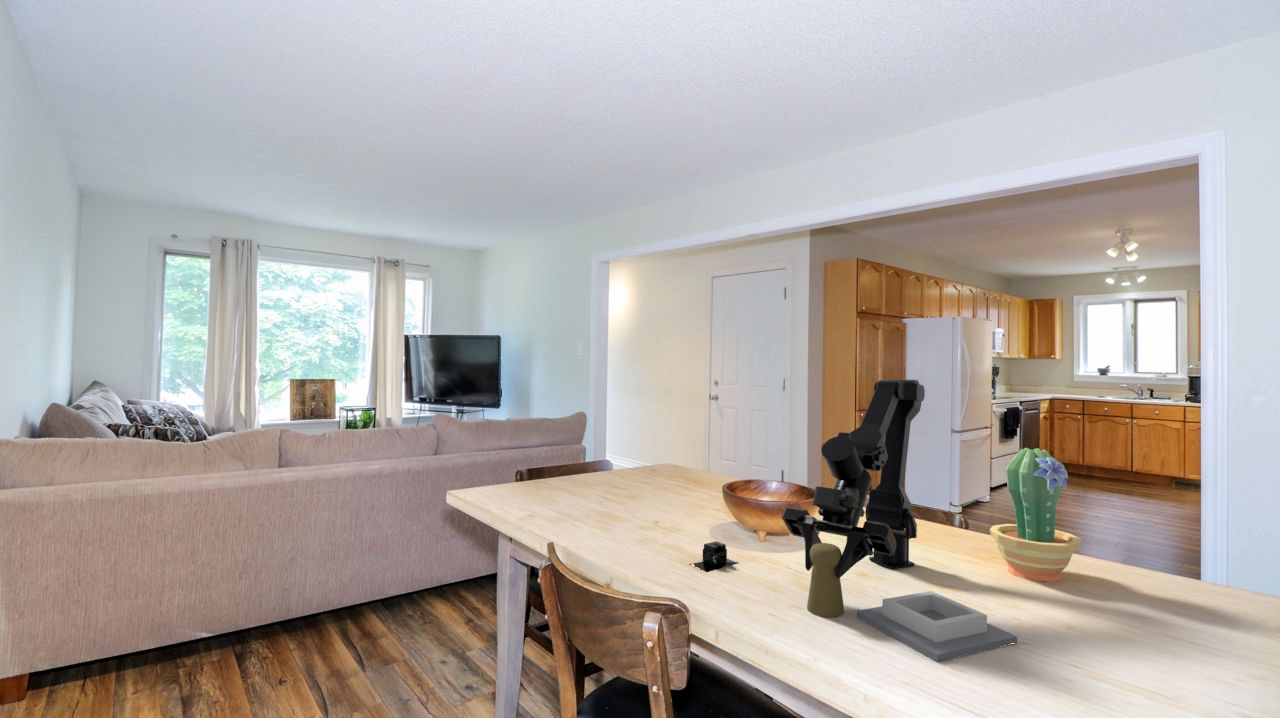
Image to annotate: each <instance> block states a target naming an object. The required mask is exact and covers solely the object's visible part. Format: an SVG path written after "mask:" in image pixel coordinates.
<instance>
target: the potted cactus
mask: <svg viewBox="0 0 1280 718" xmlns="http://www.w3.org/2000/svg"><path fill="white" fill-rule="evenodd" d="M1005 470H1006V483H1007V490H1008V492H1009V494H1010V496H1011V499H1012V501H1013V506H1014V513H1015V520H1016V524H1015V523H1014V524H1013V523H1003V524H995V525H992V526H991V527H990V528H989V533H990V537H991V538H992V539H994V540H995V543H996V545H997V548H998V551H999V553H1000V554H1001V556H1002V558H1003V559H1004V560H1005V562H1006V563H1007V564H1008V568H1007V572H1009V573H1010V574H1011V575H1013V576H1015V575H1016V577H1019V578H1021V577H1022V578H1021V579H1024V578H1026V579H1025V580H1029V579H1030V580H1029V581H1034V580H1036V581H1035V582H1041V581H1047V582H1046V583H1055V582H1054V581H1056V582H1060V581H1061V580H1060V579H1062V575H1061V573H1062V572H1063V571H1064V570H1065V569H1066V567H1068V566H1069V563H1070V561H1071V559H1072V556H1073V554H1074V553H1075V552H1078V551H1079V548H1080V545H1081V542H1082V539H1081V538H1080V537H1078V536H1076V535H1074V534H1072V533H1070V532H1066V531H1061V530H1057V529H1056V505H1057V503H1058V501H1059V498H1060V495H1061V494H1062V493H1061V492H1062V489H1063V490H1067V479H1068V478H1069V475H1068V472H1067V470H1066V468H1065V466H1064V464H1063V462H1060V461H1058V460H1057V459H1055V458H1054V457H1053V456H1052V455H1051V454H1050V453H1049V452H1048V450H1046V449H1043V450H1041V449H1040V448H1038V447H1037V448H1034V449H1031V448H1028V447H1024V448H1020V450H1018V452H1017V453H1016V455H1015V456H1014V457H1012V459H1011V461H1010V462H1009V463H1008V465H1007V466H1006V469H1005Z"/></svg>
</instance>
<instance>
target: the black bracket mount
mask: <svg viewBox="0 0 1280 718" xmlns="http://www.w3.org/2000/svg"><path fill="white" fill-rule="evenodd" d="M727 558H728V548H727V545H726V544H725V543H722V542H719V541H716V540H715V541H713V542H708V543H704V544H703V548H702V560H701V562H700V561H697V563H696V562H692V563H693V564H694V565H695V567H698V568H700V569H699V570H700V571H702V570H703V572H706V573H709V572H713V571H716V569H717V570H719V569H723V567H724V568H727V567H730V566H734V565H737V564H739V561H736V562H735V560H733V559H730V558H728V559H727ZM729 559H730V560H729ZM732 560H733V561H732ZM695 567H694V568H695Z"/></svg>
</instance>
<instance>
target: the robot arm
mask: <svg viewBox="0 0 1280 718" xmlns="http://www.w3.org/2000/svg"><path fill="white" fill-rule="evenodd" d="M873 387H874V388H873V394H872V397H871V400H870V402H869V405H868V406H867V410H866V411H865V413H864V416H863V417H862V418H863V419H862V420H861V424H860V425H859V427H857V428H856V429H854V430H852V431H851V432H841V431H840V432H838V433H837V435H836V436H833V437H832V438H829V439H828V440H827V441H825V443H823V444H822V446H821V454H822V457H823V459H824V461H825V464H826V465H827V467H828V470H829V472H830V473H831V475H832V477H833V478H834V479H836V482H835V484H834V487H833V488H832V487H824V486H815V489H814V494H813V497H812V505H813V506H816V507H817V508H818V510H817V513H818V515H819V516H821V517H822V519H818V518H816V517H814V516H812V515H810V512H809V511H808V509H805V508H799V507H794V506H789V507H786V508H785V509H784V511H783V514H782V516H781V519H782V522H783V523H784V524H785V526H786V527H787V530H788V531H789V532H790V534H791V535H793V536H796V537H800V538H803V539H804V557H805V559H804V560H805V563H804V564H805V565H804V567H805V570H806V571H808V572H809V571H810V570H811V569H812V568H813V562H812V561H811V558H810V549H811V547H812V546H813V545H814V544H817V543H823V542H822V539H821V538H820V537H819V535H820V533H821V532H823V533H827V534H831V535H836V536H842V537H846V543H845V547H844V549H843V551H842V556H841V559H840V561H839V564H838V566H837V570H836V577H837V578H840V579H841V578H842V577H843V576H844V575H845V574H846V573H847V572H848V571H849V570H851V568H852V567H854V566H855V565H856V564H857V563H859V562H861V560H863V559H864V558H865V557H867V556H870V557H868V558H869V559H868V560H869V561H871V562H874V563H876V564H878V565H881V566H883V567H886V568H888V569H891V570H894V569H901V568H907V567H914V566H915V565H916V564H915V562H913V561H911V560H910V559H909V558H910V557H909V556H910V553H909V552H910V547H909V546H910V543H909V542H910V540H911V539H916V538H918V535H917V534H918V529H917V527H918V524H917V522H916V519H915V516H914V514H913V511H912V509H911V505H912V503H911V500H910V498H909V497H908V494H907V492H906V490H905V489H904V488H905V480H906V479H905V478H906V470H907V469H906V467H907V462H908V461H907V459H908V450H909V441H910V433H911V432H910V431H911V424H912V421H913V419H914V418H916V417H917V415H918V414H919V413H920V411H921V409H922V408H921V407H922V402H924V401H925V394H926V390H925V387H924V385H923V384H920V382H919V381H918V379H899V378H898V379H896V378H895V379H892V378H891V379H890V378H889V379H888V378H887V379H886V380H885V379H884V380H883V379H880V380H877V381H875V383H874V385H873ZM868 471H871V472H880V471H881V473H880V480H879V483H878V484H877V486H876V487H875V488H873V484H872V482H873V479H872V477H871V476H872V475H870V473H869V472H868ZM868 495H869V496H868ZM867 497H869V498H868V503H867V504H866V506H865V503H866V500H867ZM864 506H865V509H864ZM864 516H865V521H864V523H863V525H862V526H861V527H860V526H858V524H859V522H860V518H863V517H864Z"/></svg>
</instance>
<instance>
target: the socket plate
mask: <svg viewBox="0 0 1280 718" xmlns="http://www.w3.org/2000/svg"><path fill="white" fill-rule="evenodd" d="M881 602H882V606H877V607H876V606H874V607H869V608H864V609H858V610H856V612H855V613H856V615H855V616H856V618H857V619H859V620H861V621H863V622H864V623H866V624H868V625H870V626H872V627H873V628H876V629H877V630H879V631H881V632H883V633H885V634H886V635H888V636H890V637H892V638H894V639H896V640H897V641H899V642H901V643H903V644H904V645H906V646H908V647H910V648H912V649H913V650H915V651H917V652H919V653H920V654H922V655H924V656H926V657H927V658H930V659H931V660H933V661H935V662H937V663H938V662H942V661H946V660H951V659H955V657H956V658H960V657H964V656H968V655H967V654H969V655H971V654H972V653H973V654H976V652H977V653H980V652H979V651H982V652H985V651H984V650H986V651H990V650H993V649H992V648H995V649H997V648H996V647H999V648H1001V647H1000V646H1003V647H1005V646H1004V645H1007V646H1009V645H1008V644H1011V643H1016V644H1018V636H1017V635H1016V634H1013V633H1011V632H1009V631H1006V630H1004V629H1001V628H999V627H997V626H995V625H992V624H990V623H988V616H987V615H988V614H985V613H983V612H981V611H979V610H976V609H974V608H973V607H972V608H971V607H969V606H966V605H964V604H962V603H960V602H957V601H955V600H952V599H950V598H948V597H945V596H943V595H942V594H938V593H936V592H934V591H932V590H929V591H922V592H917V593H911V594H906V595H901V596H894V597H889V598H882V601H881ZM989 649H990V650H989ZM963 655H964V656H963ZM959 656H960V657H959Z"/></svg>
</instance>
